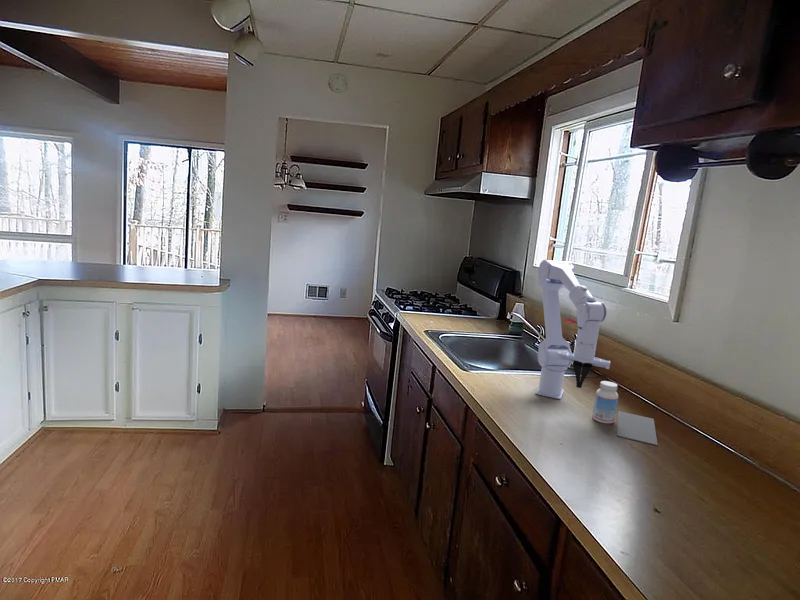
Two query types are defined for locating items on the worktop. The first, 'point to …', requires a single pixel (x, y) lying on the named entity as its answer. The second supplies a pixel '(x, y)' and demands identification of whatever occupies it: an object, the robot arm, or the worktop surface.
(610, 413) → the pill bottle
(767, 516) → the worktop surface
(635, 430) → the mat
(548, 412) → the worktop surface
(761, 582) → the worktop surface
